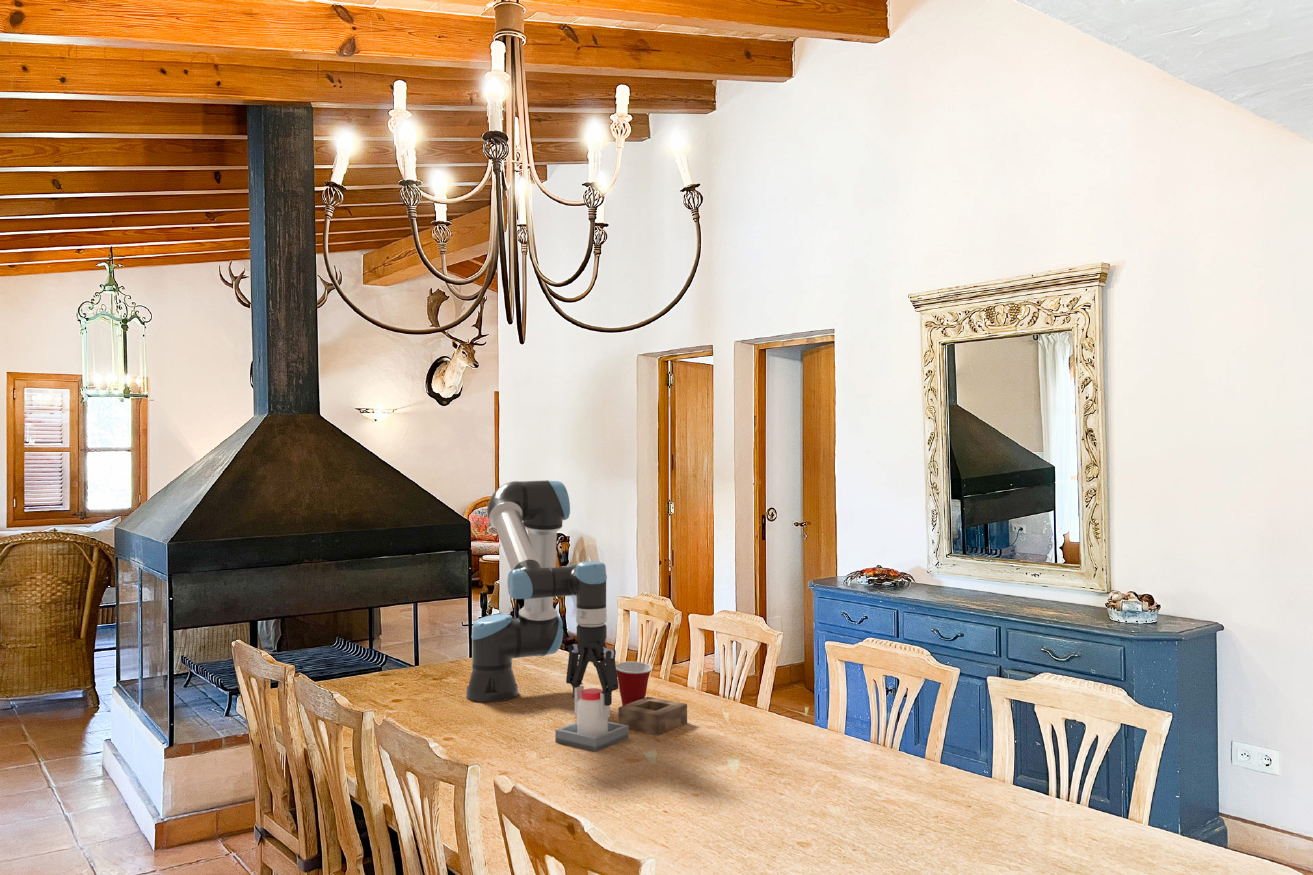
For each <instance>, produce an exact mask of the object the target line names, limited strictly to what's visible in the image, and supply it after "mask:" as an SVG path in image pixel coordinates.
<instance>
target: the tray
mask: <svg viewBox="0 0 1313 875" xmlns="http://www.w3.org/2000/svg"><path fill="white" fill-rule="evenodd" d="M629 732H630V729H629V726H627V725H623V724H618V722H617V723H616V722H612V721H608V732H607V733H604V734H602V735H599V736H597V737H592V736H588V735H583V734H579V733H577V721H576V722H573V723H571V724H567V725H565V726H562V727H559V728H556V729H555V733H554V734H555V735H554V736H555V738H554V739H555V743H558V744H563V745H567V746H571V747H574V748H575V747H576V748H580V749H583V750H588V751H593V752H598V751H600V750H603V749H605V748H608V747H609V746H613V745H615V744H617V743H619V742H622V741H625V740H626V739H629V737H630V736H629Z"/></svg>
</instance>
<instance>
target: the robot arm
mask: <svg viewBox="0 0 1313 875" xmlns="http://www.w3.org/2000/svg"><path fill="white" fill-rule="evenodd" d="M486 509H487V510H486V513H487V518H488V521H489V523H490V525H491V527H493V528H494V529H495V530H496V532H497V535H498V538H499V541H500V544H501V546H502V549H503V551H504V555H505V556H506V560H507V561H508V565H509V567H510V568H509V569H510V571H509V572H508V573H507V574H508V575H507V583H506V584H507V592H508V594H509V596H510V598H512V599H513V600H514V599H515V600H523V601H524V602H523V603H524V604H523V606H522V608H520V609H519V610H518V618H517V617H516V618H513V617H512V615H511V614H509V613H501V614H499V613H497V614H492V615H488V616H487V615H486V616H483V617H480V618H478V619H477V620H475V621H474V623H473V624H472V629H471V659H472V660H471V661H472V662H471V667H472V668H471V672H470V673H471V674H470V677H469V681H468V685H467V687H466V691H465V693H466V694H465V695H466V696H465V697H466V699H467V700H470V701H475V702H482V703H483V702H484V703H485V702H486V703H488V702H490V703H491V702H502V701H506V700H510V699H513V698H516V697H517V696H518V695H519V688H518V684H517V682H516V677H515V674H514V672H513V665H512V664H513V663H512V662H513V659H520V658H529V657H530V658H531V657H532V658H533V657H544V656H549V655H553V654H556V653H557V652H558V651H559V650H560V648H561V646H562V642H563V638H564V637H563V636H564V629H563V628H564V627H563V626H564V625H563V624H564V623H563V619H562V617H561V616H559V615H558V611H557V610H556V609H555V608H554V597H569V596H575V598H576V623H577V626H576V640H577V643H573V644H570V645H569V644H568V646H567V650H568V660H567V661H568V662H567V667H566V668H567V669H566V677H565V678H566V679H565V682H566V684H570V685H571V687H572V698H573V700H574V715H577V701H578V700H579V699H580V698H581V691H582V690H584V689H585V687H584V683H583V679H584V677H585V673H586V669H587V667H588V664H589V663H592V664H593V666H594V667H595V670H596V673H597V676H598V680H599V682H600V685H601V689H602V690H603V691H602V692H601V693H600V710H601V719H602V720H603V719H606V718H608V719H609V718H610V717H611V716H610V714H611V712H610V710H611V708H610V706H611V705H612V702H613V701H612V700H613V697H612V694H613V691H616V690H618V689H619V683H618V677H617V671H616V664H617V663H616V654H617V651H616V649H615V648H613V649H609V648H607V645H606V640H607V629H608V627H607V625H606V623H607V622H608V620H607V579H608V575H607V567H606V564H605V563H604V562H601V561H592V560H591V561H581V562H579V563H577V564H569V565H567V566H558V567H556V556H557V538H558V537H557V535H558V531H560V530H561V529H562V528H563V522H564V521H566V520H568V519H569V518H570V515H571V502H570V497H569V493H568V490H567V488H566V486H565V484H564V483H563V482H562V481H559V480H549V479H546V480H528V481H527V480H524V481H519V480H518V481H517V480H516V481H515V480H514V481H510V482H506V483H504V484H503V485H501V486H499V488H497V489H496V490H495V491H494V492H493V493H492V495H491V496H490V499H489V501H488V503H487V508H486Z"/></svg>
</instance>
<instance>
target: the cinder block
mask: <svg viewBox="0 0 1313 875" xmlns="http://www.w3.org/2000/svg"><path fill="white" fill-rule="evenodd" d="M617 709H618V712H617V713H618V715H617V716H618V721H617V723H618V724H623V725H627V726H629V730H633V731H638V732H642V733H647V734H651V735H657V736H660V735H663V734H665V733H667V732H669V731H671V730H673V729H677V728H678V727H682V726H683V725H685V724H687V723H688V704H687V703H684V702H680V701H679V702H678V701H674V700H673V701H672V700H667V699H662V698H657V697H652V696H645V698H643V699H640V700H637V701H635V702H632V703H629V704H626V705H624V706H622V705H621V706H619V707H617Z"/></svg>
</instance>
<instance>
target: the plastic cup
mask: <svg viewBox="0 0 1313 875" xmlns="http://www.w3.org/2000/svg"><path fill="white" fill-rule="evenodd" d="M616 671H617V679H618V689H619V696H620V699H621V706H624V705H626V704H629V703H632V702H635V701H637V700H640V699H643V698H646V697H647V696H646V694H647V688H648V683H649V678H650V674H651V672H652V671H653V666H652V665H651V664H649V663H645V662H641V661H633V660H632V661H621V662H618V663H616Z"/></svg>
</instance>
